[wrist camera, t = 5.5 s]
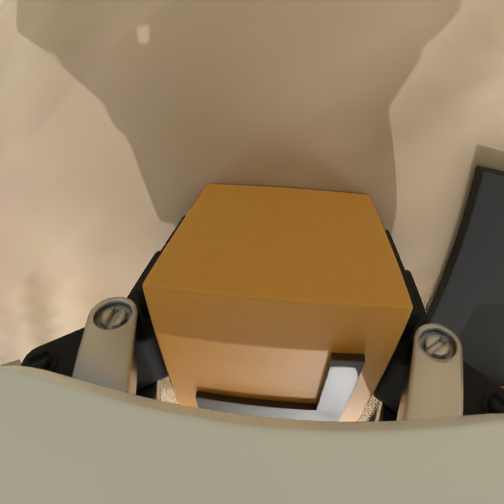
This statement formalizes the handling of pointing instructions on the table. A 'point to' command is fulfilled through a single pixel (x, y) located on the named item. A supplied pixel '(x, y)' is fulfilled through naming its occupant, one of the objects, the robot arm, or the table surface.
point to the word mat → (477, 279)
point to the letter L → (278, 303)
